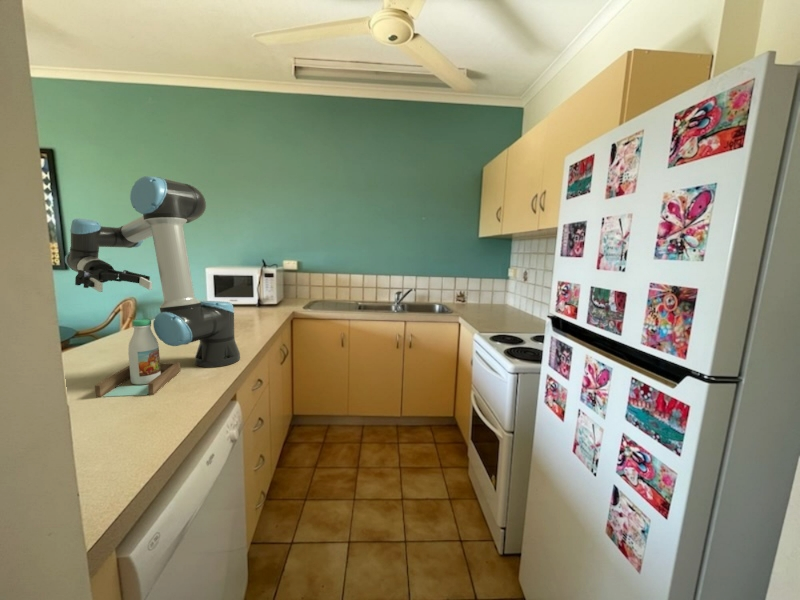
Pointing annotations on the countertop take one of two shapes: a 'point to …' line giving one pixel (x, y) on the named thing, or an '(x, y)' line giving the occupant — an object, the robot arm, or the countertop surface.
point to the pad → (128, 391)
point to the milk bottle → (143, 353)
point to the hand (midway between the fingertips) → (127, 286)
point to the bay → (113, 381)
